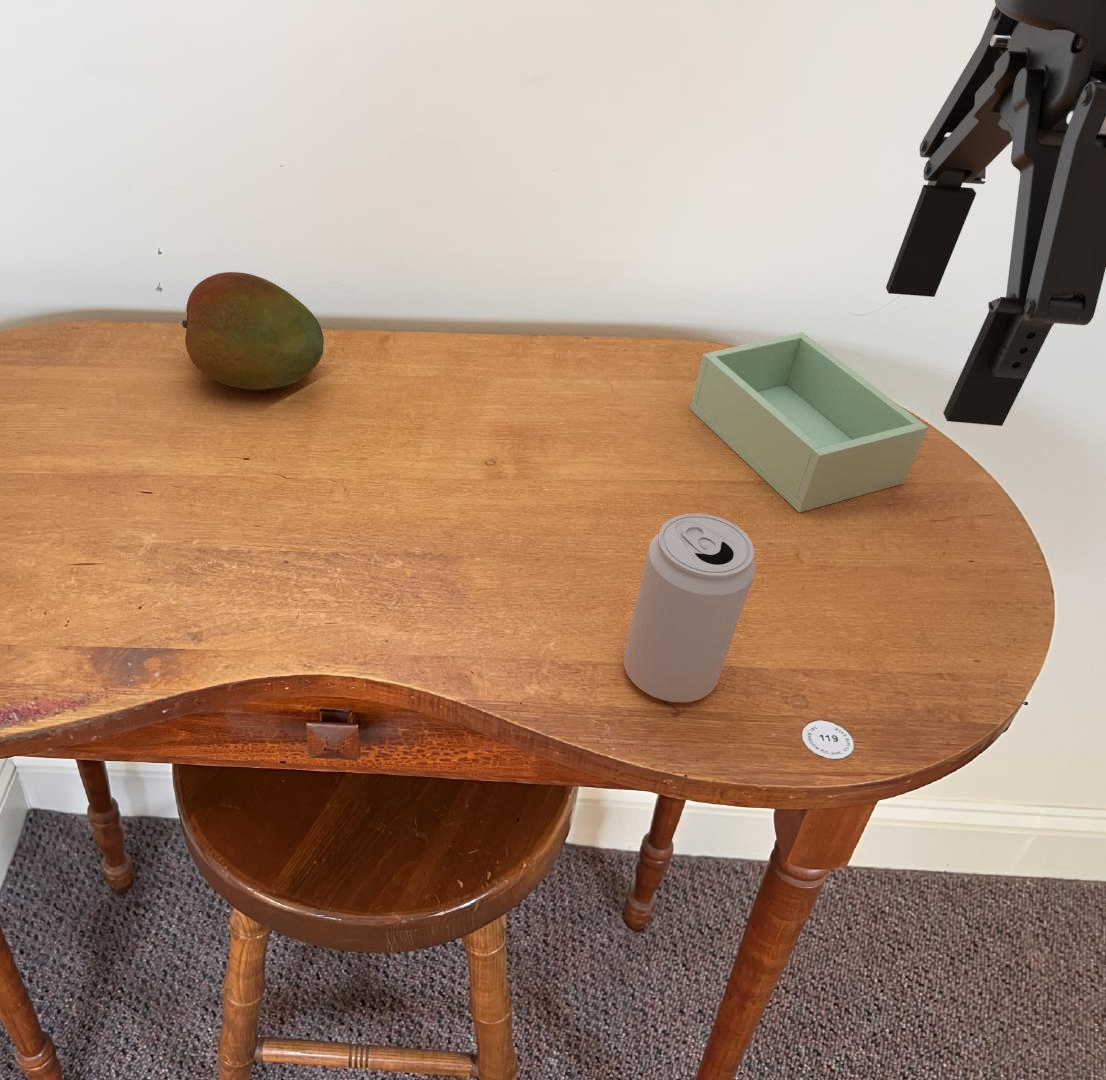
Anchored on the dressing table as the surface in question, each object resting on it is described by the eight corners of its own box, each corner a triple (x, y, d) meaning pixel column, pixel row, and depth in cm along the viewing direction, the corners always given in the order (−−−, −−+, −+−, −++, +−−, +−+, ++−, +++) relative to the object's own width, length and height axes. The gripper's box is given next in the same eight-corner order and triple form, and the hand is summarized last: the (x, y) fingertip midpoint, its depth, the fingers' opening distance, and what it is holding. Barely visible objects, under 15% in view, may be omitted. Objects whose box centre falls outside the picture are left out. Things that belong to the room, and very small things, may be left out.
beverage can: (662, 723, 67) (702, 592, 59) (601, 658, 71) (631, 527, 63) (736, 687, 69) (784, 556, 61) (673, 626, 73) (710, 496, 65)
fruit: (191, 347, 100) (178, 252, 94) (320, 340, 102) (316, 246, 95) (188, 416, 92) (174, 316, 85) (328, 408, 93) (325, 309, 86)
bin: (903, 484, 86) (928, 427, 82) (798, 513, 83) (820, 455, 79) (785, 386, 97) (802, 331, 93) (689, 408, 94) (702, 353, 90)
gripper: (952, -137, 53) (830, 246, 68) (1147, -9, 35) (923, 480, 49) (1105, -131, 53) (949, 254, 67) (1387, 2, 34) (1089, 495, 48)
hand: (938, 351), depth 58 cm, fingers open, 13 cm apart
